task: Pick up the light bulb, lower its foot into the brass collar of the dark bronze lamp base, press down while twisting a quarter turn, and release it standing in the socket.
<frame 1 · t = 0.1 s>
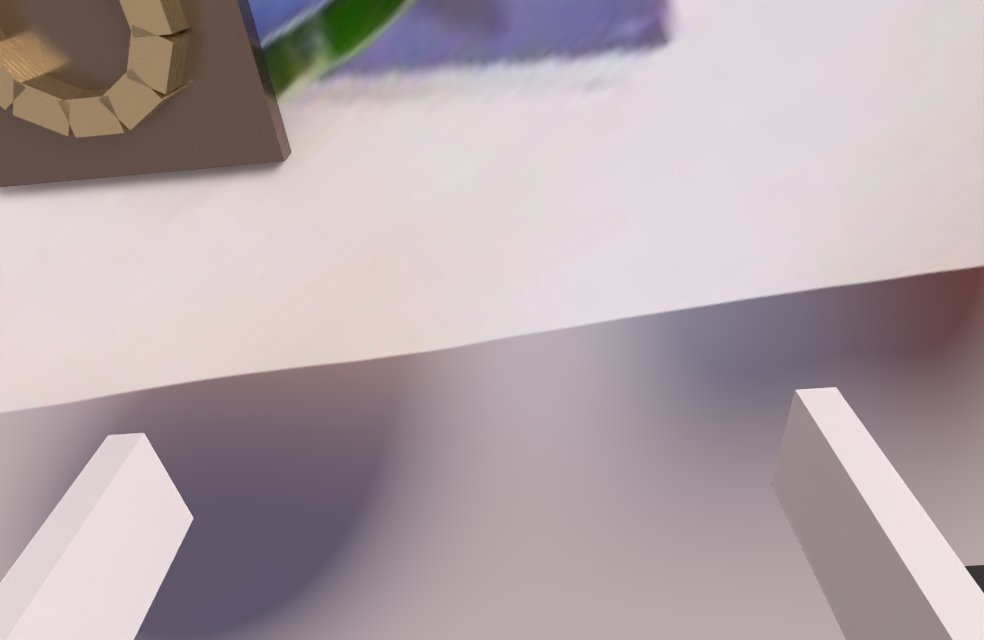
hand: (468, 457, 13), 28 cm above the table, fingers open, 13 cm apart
lamp base: (84, 6, 33), on the table
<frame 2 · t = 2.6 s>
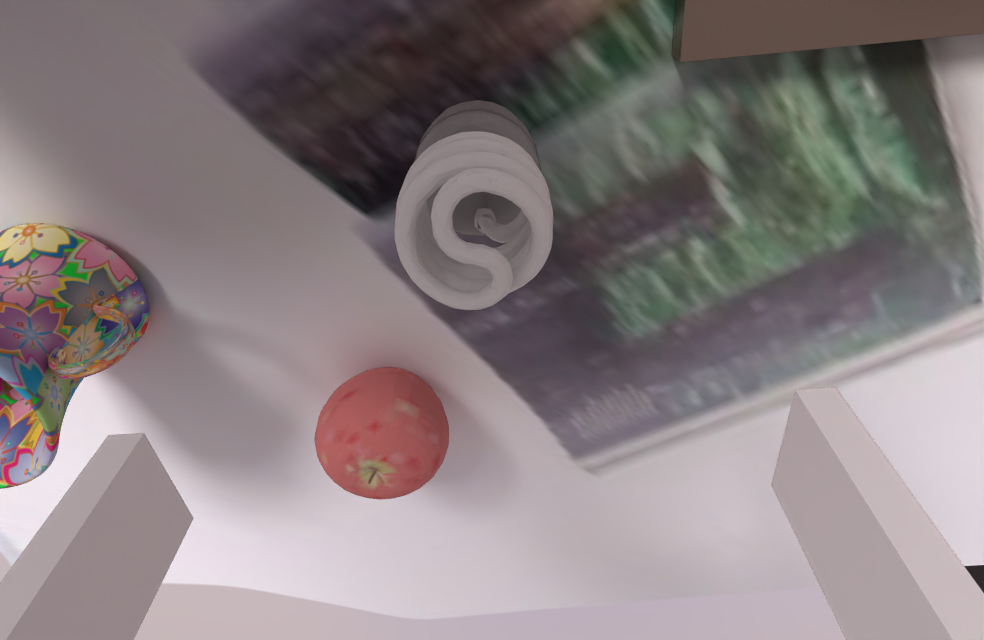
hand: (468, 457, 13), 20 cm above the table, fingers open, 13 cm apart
mug: (101, 278, 34), on the table
apple: (392, 386, 38), on the table
light bulb: (478, 137, 29), on the table
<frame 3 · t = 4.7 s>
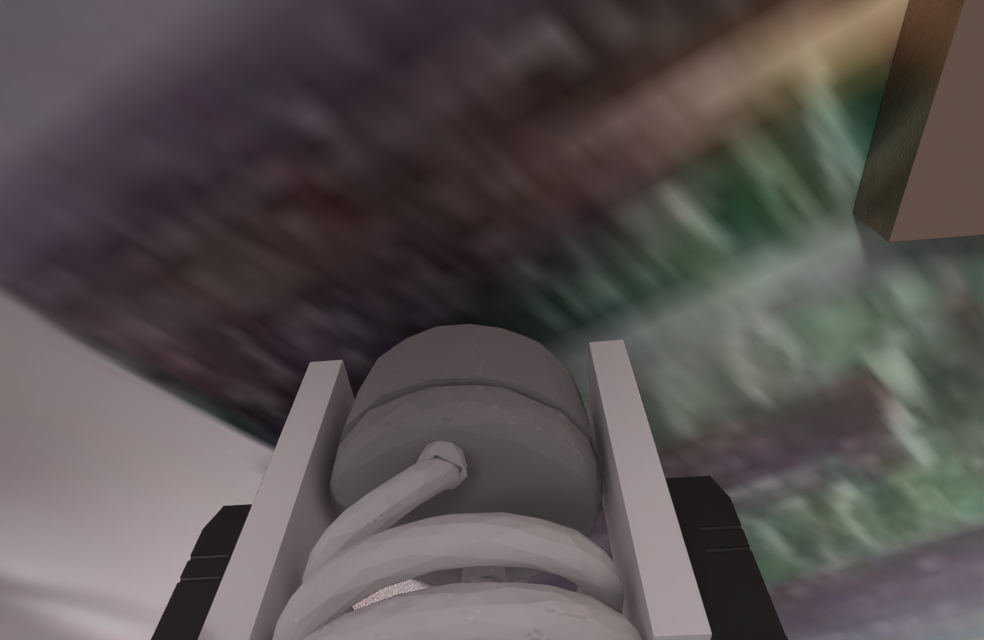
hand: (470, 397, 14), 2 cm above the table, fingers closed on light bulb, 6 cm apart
light bulb: (473, 340, 16), on the table, touching gripper
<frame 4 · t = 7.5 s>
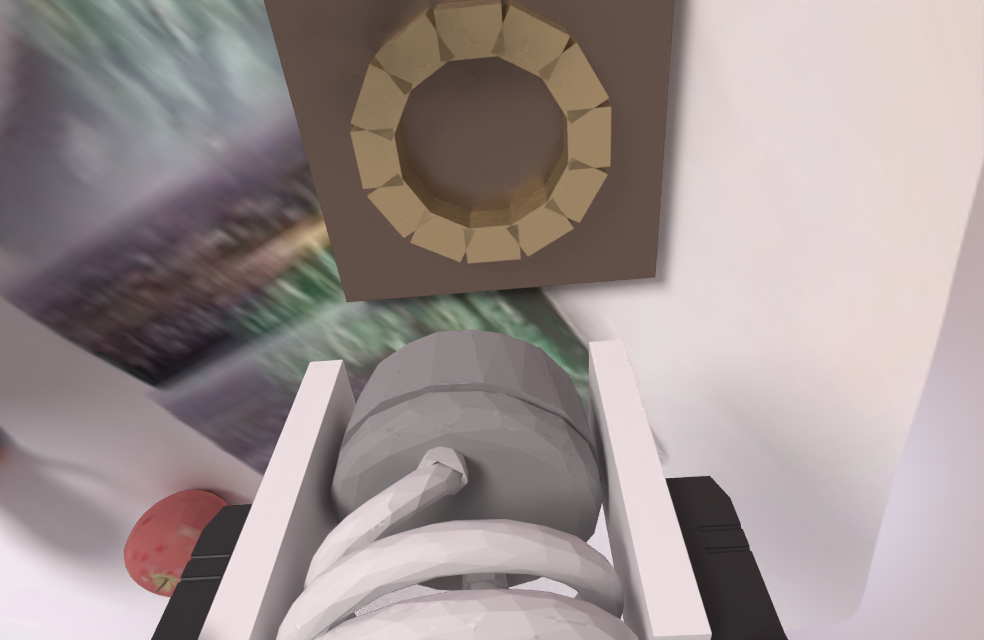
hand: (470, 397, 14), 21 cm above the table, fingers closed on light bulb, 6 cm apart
lamp base: (483, 127, 31), on the table
apple: (205, 499, 48), on the table
light bulb: (473, 345, 16), point 18 cm above the table, touching gripper
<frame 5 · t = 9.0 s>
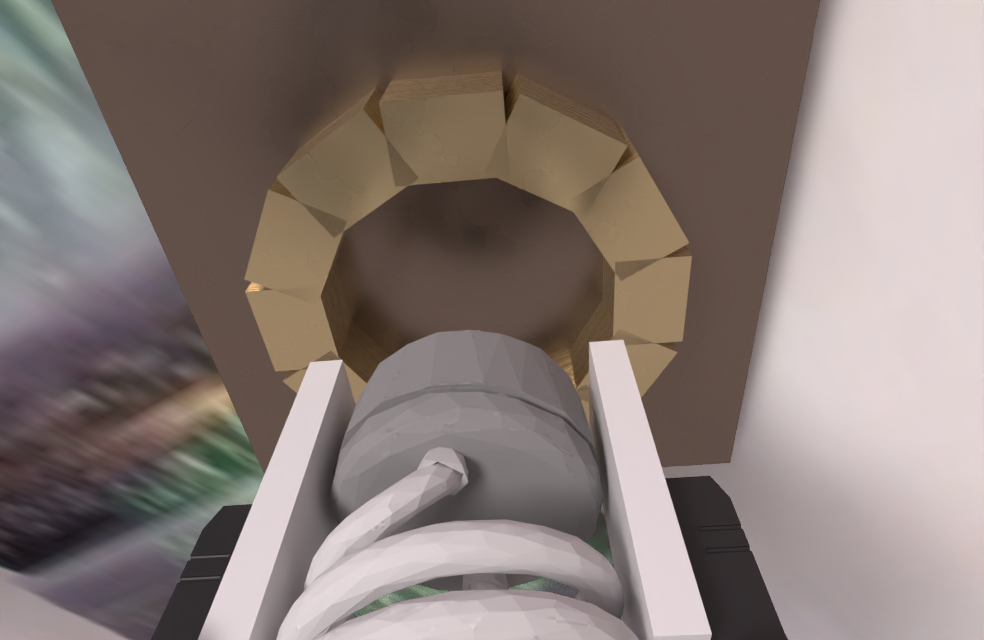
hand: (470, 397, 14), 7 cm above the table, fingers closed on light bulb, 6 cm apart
lamp base: (473, 257, 20), on the table
light bulb: (473, 345, 16), point 5 cm above the table, touching gripper
when the fingers open (4 cm above the table, at t = 10.1 s): light bulb stays where it is, resting on lamp base.
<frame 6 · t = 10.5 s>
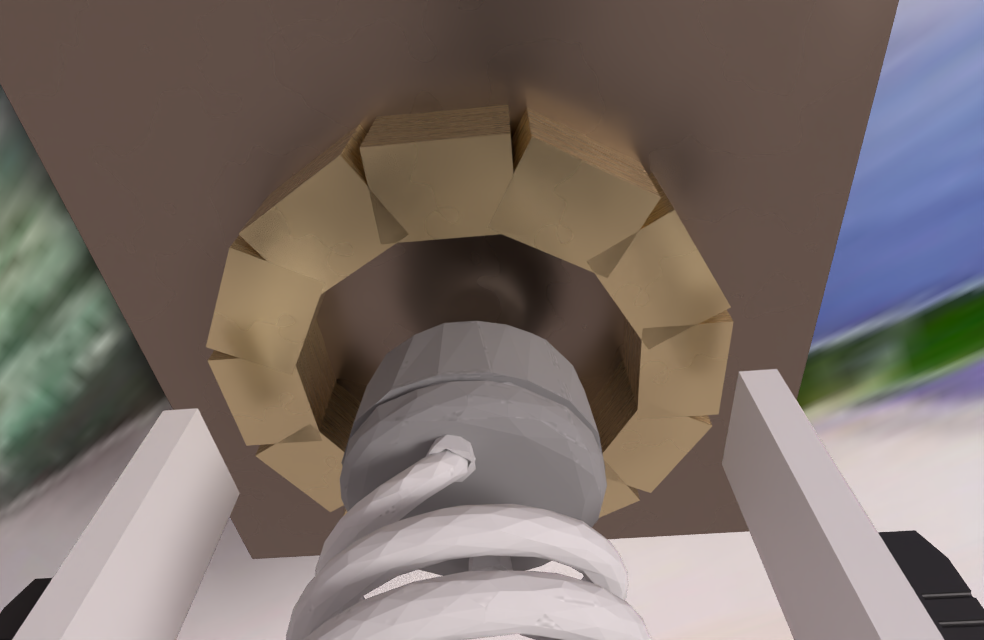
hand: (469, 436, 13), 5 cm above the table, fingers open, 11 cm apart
lamp base: (474, 308, 17), on the table
light bulb: (478, 337, 16), point 1 cm above the table, touching lamp base
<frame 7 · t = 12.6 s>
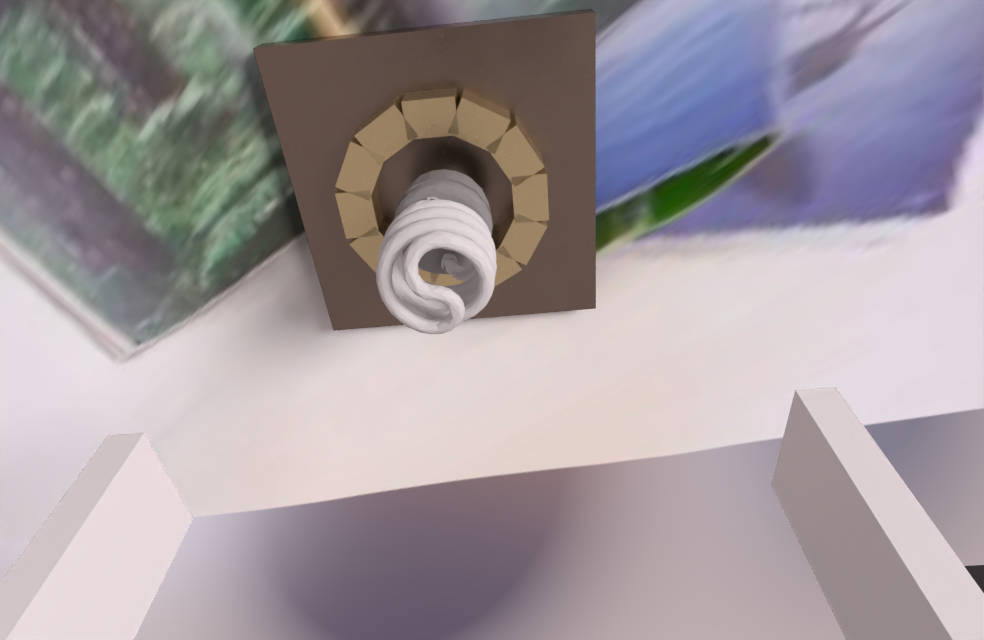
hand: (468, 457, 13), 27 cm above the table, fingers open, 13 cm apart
lamp base: (446, 185, 37), on the table
light bulb: (447, 194, 36), point 1 cm above the table, touching lamp base
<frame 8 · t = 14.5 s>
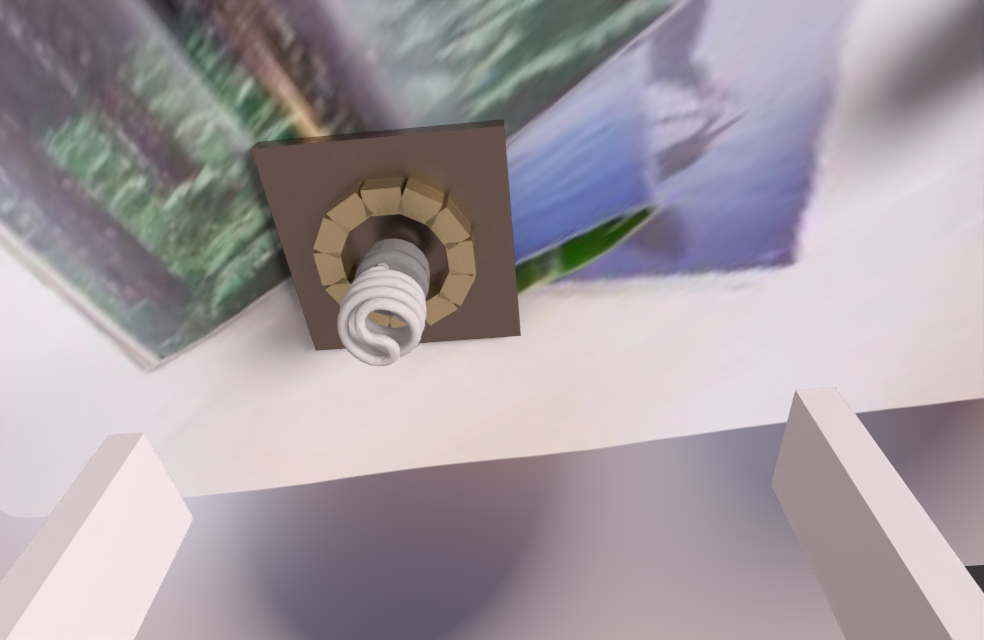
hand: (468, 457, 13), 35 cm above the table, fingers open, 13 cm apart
lamp base: (401, 242, 48), on the table
light bulb: (400, 250, 47), point 1 cm above the table, touching lamp base
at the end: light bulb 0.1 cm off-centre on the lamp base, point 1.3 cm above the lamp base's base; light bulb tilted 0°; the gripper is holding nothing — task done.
